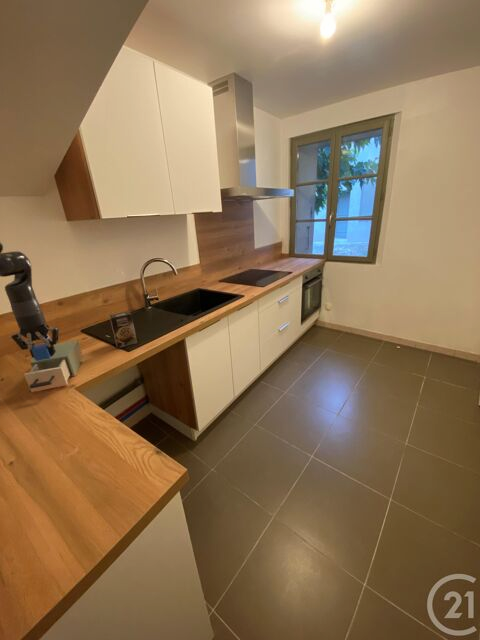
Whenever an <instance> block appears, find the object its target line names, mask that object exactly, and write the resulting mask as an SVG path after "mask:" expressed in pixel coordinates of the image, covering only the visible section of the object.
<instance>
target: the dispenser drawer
mask: <svg viewBox="0 0 480 640" xmlns="http://www.w3.org/2000/svg"><path fill="white" fill-rule="evenodd" d="M70 374H71V370H70V367H69V364H68V361H67V358H65V359H59V360H53V361H48V362H42V363H36V364H35V365H34V367H33V368H32V367H31V369H30V370H29V372H25V373H24V375H23V376H24V378H25V381H26V383H27V385H28V387H29V390H30V392H31V393H34V392H39V391H43V390H44V391H45V390H49V389H55V388H59V387H63V386H68V384H69V382H68V379H69V378H70V377H69V376H70Z"/></svg>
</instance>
